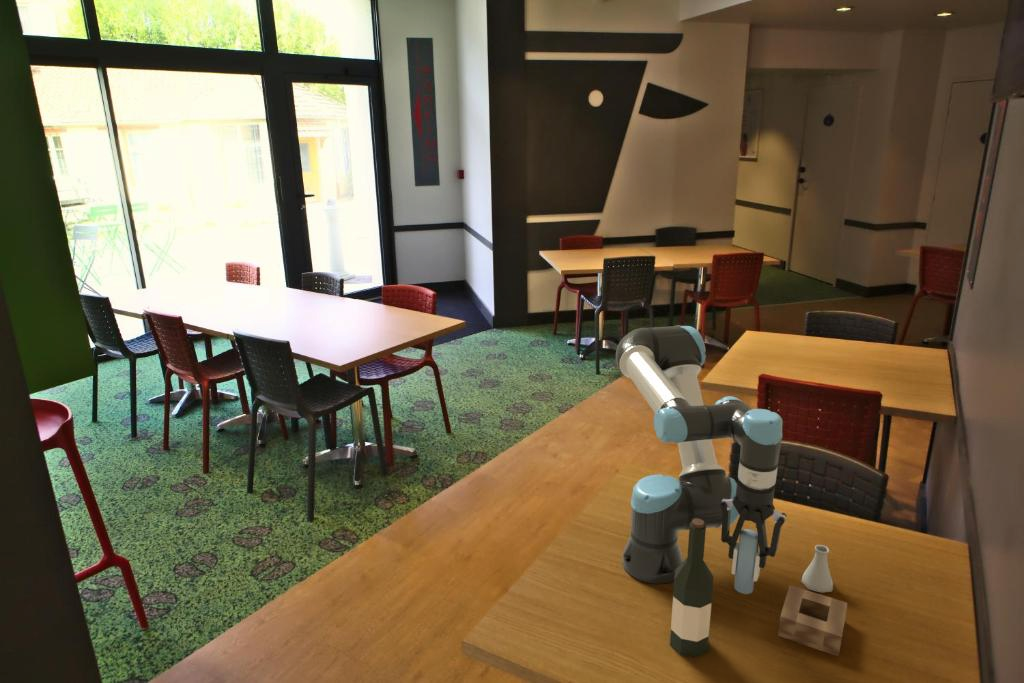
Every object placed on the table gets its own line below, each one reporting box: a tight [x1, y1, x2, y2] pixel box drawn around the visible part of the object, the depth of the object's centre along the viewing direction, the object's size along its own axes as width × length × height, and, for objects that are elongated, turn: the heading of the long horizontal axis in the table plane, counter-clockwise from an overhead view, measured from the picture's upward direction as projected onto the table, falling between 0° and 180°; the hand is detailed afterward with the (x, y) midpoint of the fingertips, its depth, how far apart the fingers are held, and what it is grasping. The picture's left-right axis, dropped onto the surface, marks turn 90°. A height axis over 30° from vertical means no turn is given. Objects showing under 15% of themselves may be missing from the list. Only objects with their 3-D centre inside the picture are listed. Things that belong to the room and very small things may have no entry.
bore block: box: [777, 585, 848, 657], centre depth 142 cm, size 12×12×5 cm
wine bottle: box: [669, 518, 714, 659], centre depth 135 cm, size 8×8×30 cm
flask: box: [800, 544, 834, 594], centre depth 156 cm, size 7×7×10 cm
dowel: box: [733, 528, 759, 595], centre depth 143 cm, size 4×4×14 cm
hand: (745, 574), depth 144 cm, fingers closed on dowel, 4 cm apart
